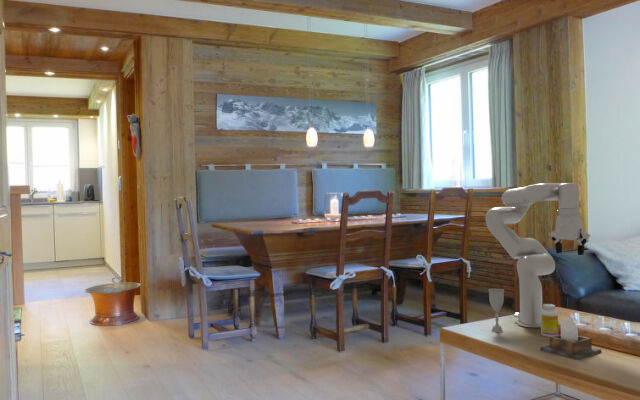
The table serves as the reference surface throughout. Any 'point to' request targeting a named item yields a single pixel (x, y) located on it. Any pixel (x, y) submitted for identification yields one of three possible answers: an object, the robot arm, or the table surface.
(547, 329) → the supplement bottle
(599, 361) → the table surface
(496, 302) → the chalice
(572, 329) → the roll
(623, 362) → the table surface
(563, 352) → the brown wooden open box
